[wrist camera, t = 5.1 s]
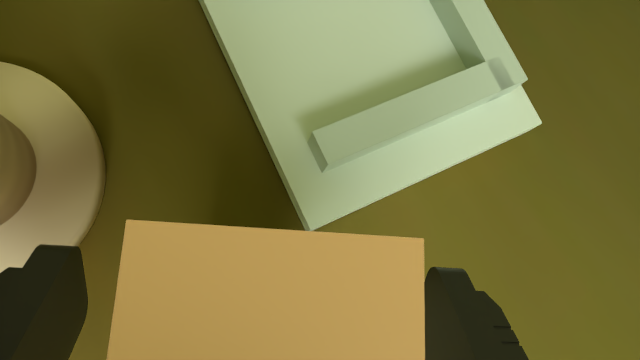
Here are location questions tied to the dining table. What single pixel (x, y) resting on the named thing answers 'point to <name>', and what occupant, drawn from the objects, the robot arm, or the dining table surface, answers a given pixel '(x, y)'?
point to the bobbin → (44, 167)
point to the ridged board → (370, 92)
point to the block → (266, 295)
